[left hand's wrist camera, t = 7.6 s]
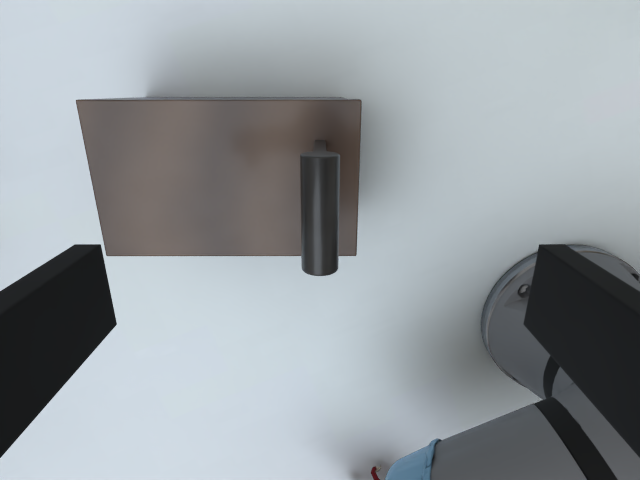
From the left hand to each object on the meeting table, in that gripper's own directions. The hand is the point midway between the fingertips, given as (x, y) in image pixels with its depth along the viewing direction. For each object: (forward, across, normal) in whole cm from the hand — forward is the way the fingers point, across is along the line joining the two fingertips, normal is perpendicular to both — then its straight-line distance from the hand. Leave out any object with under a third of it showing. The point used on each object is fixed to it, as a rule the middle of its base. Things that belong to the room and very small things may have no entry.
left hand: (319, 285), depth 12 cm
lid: (+15, -6, 0) cm, 16 cm away
